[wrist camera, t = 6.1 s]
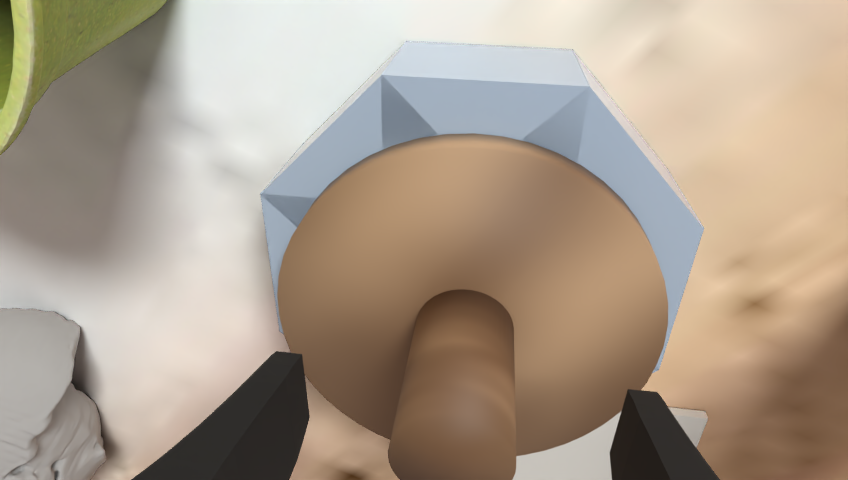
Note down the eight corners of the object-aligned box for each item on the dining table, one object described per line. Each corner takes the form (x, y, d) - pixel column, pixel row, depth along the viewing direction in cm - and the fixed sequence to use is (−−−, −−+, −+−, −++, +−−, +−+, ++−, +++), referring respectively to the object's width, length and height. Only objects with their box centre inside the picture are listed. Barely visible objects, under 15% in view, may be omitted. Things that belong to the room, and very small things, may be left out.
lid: (738, 204, 14) (852, 351, 10) (569, 467, 20) (589, 640, 15) (319, 79, 14) (224, 167, 9) (269, 382, 20) (195, 532, 15)
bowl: (696, 55, 16) (746, 94, 13) (615, 364, 22) (634, 447, 19) (293, 35, 17) (242, 66, 14) (321, 334, 24) (290, 407, 20)
